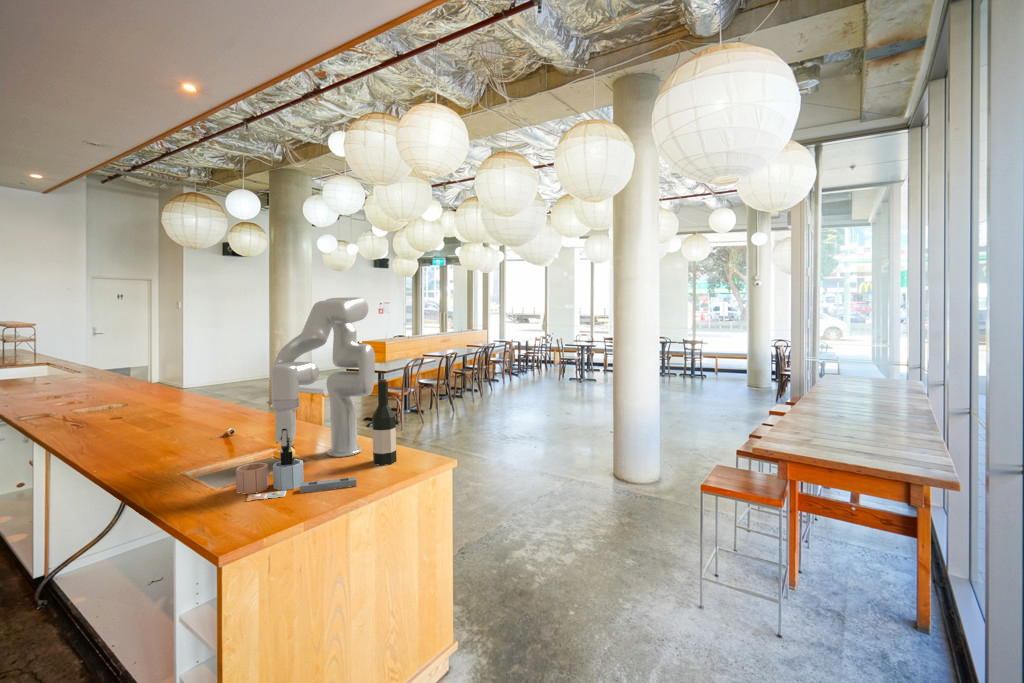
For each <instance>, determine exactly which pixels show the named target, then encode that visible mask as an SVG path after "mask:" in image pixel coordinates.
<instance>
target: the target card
mask: <svg viewBox="0 0 1024 683" xmlns="http://www.w3.org/2000/svg"><path fill="white" fill-rule="evenodd" d="M286 493H287V490H277V491H269V492H259V493H256V494H248V495H247V497H248V498H246V499H264V500H269V499H268V498H272V499H279V498H278V497H281V498H285V497H286Z"/></svg>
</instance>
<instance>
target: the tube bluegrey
mask: <svg viewBox="0 0 1024 683" xmlns="http://www.w3.org/2000/svg"><path fill="white" fill-rule="evenodd" d="M304 478H305V477H304V460H302V459H299V458H298V459H297V458H296V459H295V458H294V460H293V463H292V464H291V465H281V460H280V461H278V462H274V464H273V465H272V480H273V489H274V490H276V489H277V491H284V490H285V491H287V490H294V489H297V488H300V484H301V483H305V481H304Z"/></svg>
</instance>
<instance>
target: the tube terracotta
mask: <svg viewBox="0 0 1024 683" xmlns="http://www.w3.org/2000/svg"><path fill="white" fill-rule="evenodd" d="M235 482H236V483H235V484H236V485H235V489H236V493H237V492H240V493H245V494H246V493H256V492H259V493H261V492H260V491H262V492H264V491H263V490H265V491H267V490H268V489H267V488H269V487H270V484H269V482H270V481H269V463H265V462H251V463H247V464H246V463H245V464H243V465H239V466H238V467H237V468H236V469H235ZM268 486H269V487H268ZM266 489H267V490H266ZM256 494H257V493H256Z"/></svg>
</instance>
